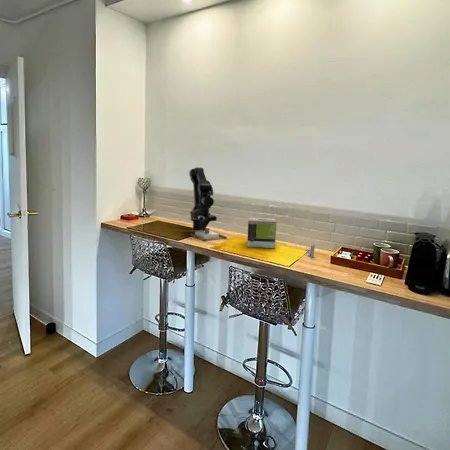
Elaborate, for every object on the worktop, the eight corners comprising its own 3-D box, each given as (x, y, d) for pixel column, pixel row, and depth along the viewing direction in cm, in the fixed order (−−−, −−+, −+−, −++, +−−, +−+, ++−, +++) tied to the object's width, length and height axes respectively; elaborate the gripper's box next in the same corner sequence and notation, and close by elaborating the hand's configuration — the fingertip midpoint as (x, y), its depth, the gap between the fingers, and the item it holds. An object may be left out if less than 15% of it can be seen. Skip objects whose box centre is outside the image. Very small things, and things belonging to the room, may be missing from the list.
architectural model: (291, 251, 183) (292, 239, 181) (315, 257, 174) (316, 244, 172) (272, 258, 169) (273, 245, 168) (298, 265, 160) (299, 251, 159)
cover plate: (195, 235, 205) (195, 227, 204) (209, 233, 210) (209, 226, 209) (204, 239, 197) (204, 231, 196) (218, 237, 202) (219, 229, 201)
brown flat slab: (190, 236, 204) (190, 233, 204) (211, 233, 213) (211, 231, 213) (204, 242, 192) (204, 239, 191) (226, 239, 200) (226, 236, 200)
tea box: (274, 244, 195) (276, 218, 192) (274, 249, 185) (277, 221, 182) (247, 242, 196) (248, 216, 193) (246, 247, 186) (248, 220, 183)
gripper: (184, 202, 206) (184, 228, 209) (200, 207, 191) (199, 235, 194) (200, 202, 212) (200, 227, 215) (217, 206, 197) (216, 233, 200)
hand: (203, 230), depth 206 cm, fingers closed
